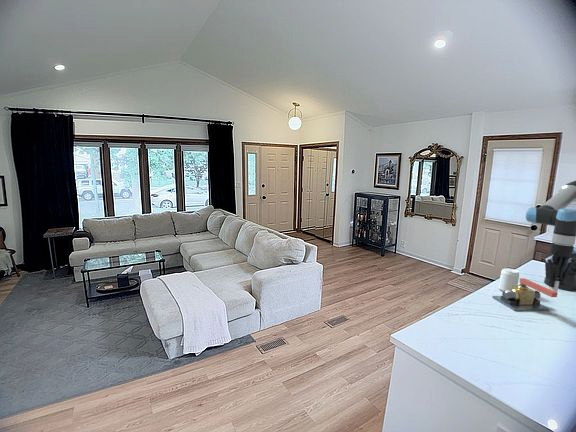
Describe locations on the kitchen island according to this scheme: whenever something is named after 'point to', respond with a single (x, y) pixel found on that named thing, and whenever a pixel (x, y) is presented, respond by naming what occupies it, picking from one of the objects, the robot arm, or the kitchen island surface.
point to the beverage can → (508, 278)
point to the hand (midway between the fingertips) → (552, 293)
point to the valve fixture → (521, 299)
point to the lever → (537, 287)
